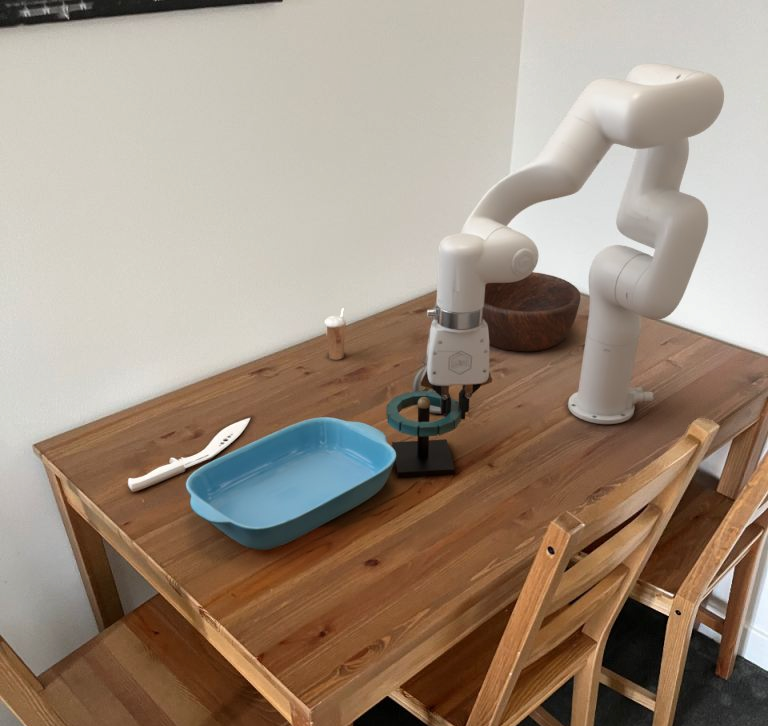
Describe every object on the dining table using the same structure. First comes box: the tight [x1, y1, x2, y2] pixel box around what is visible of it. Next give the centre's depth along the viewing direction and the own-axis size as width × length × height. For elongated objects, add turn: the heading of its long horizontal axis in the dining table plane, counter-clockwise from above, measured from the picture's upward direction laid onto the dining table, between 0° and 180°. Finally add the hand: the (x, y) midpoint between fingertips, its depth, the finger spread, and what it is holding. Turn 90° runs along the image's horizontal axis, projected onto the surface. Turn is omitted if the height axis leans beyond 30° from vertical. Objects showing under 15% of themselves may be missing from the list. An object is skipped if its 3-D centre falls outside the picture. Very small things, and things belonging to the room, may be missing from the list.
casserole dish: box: [185, 416, 396, 551], centre depth 140 cm, size 37×22×7 cm, turn 135°
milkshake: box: [323, 307, 347, 361], centre depth 183 cm, size 4×5×10 cm
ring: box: [385, 390, 462, 437], centre depth 146 cm, size 13×13×2 cm
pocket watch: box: [412, 354, 441, 415], centre depth 165 cm, size 8×8×10 cm
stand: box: [391, 397, 456, 479], centre depth 148 cm, size 10×10×13 cm
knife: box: [127, 417, 251, 493], centre depth 154 cm, size 30×2×8 cm
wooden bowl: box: [483, 271, 582, 352], centre depth 192 cm, size 25×25×10 cm
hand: (454, 415), depth 147 cm, fingers closed on ring, 2 cm apart
